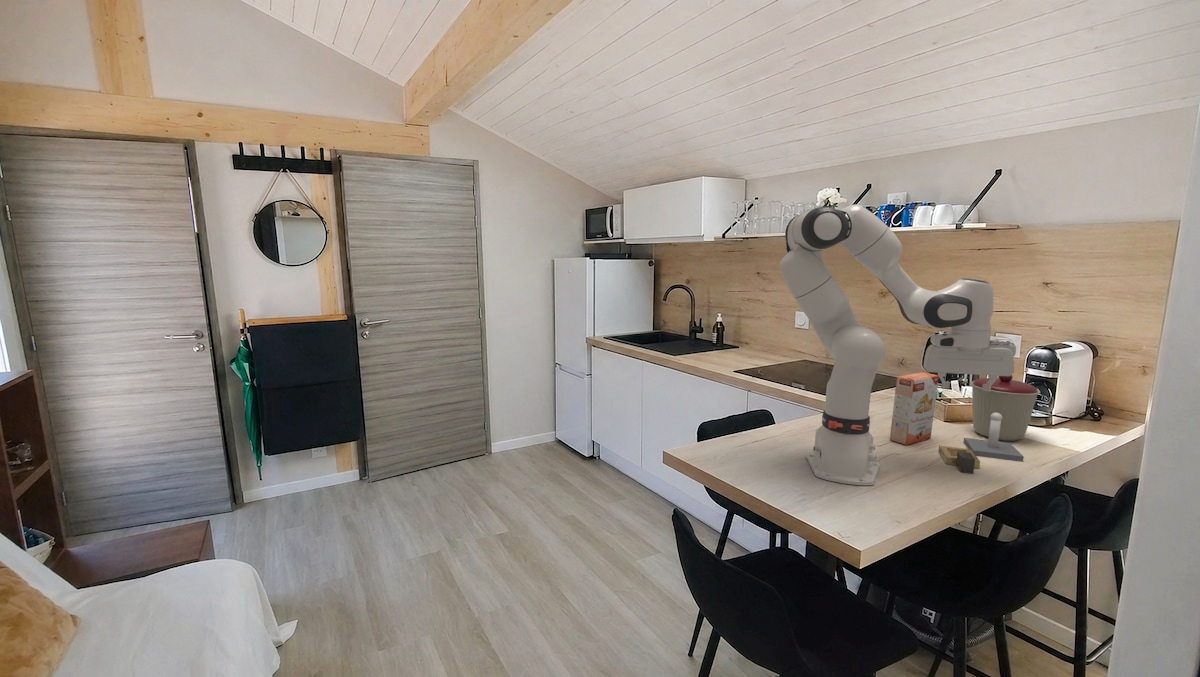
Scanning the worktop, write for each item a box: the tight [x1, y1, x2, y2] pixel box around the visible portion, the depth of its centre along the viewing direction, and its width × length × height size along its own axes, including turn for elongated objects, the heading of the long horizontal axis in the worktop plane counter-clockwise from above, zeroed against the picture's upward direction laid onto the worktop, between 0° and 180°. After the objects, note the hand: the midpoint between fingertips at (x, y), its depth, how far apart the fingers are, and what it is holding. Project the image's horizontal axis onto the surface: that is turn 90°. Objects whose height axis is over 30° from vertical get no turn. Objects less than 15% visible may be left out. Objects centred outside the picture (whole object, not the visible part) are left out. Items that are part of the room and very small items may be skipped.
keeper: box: [963, 413, 1024, 462], centre depth 160 cm, size 12×12×12 cm
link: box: [937, 445, 981, 474], centre depth 152 cm, size 15×8×4 cm, turn 158°
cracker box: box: [889, 371, 940, 446], centre depth 169 cm, size 14×6×21 cm, turn 121°
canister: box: [969, 374, 1041, 442], centre depth 174 cm, size 18×18×21 cm
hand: (965, 389), depth 146 cm, fingers open, 8 cm apart
